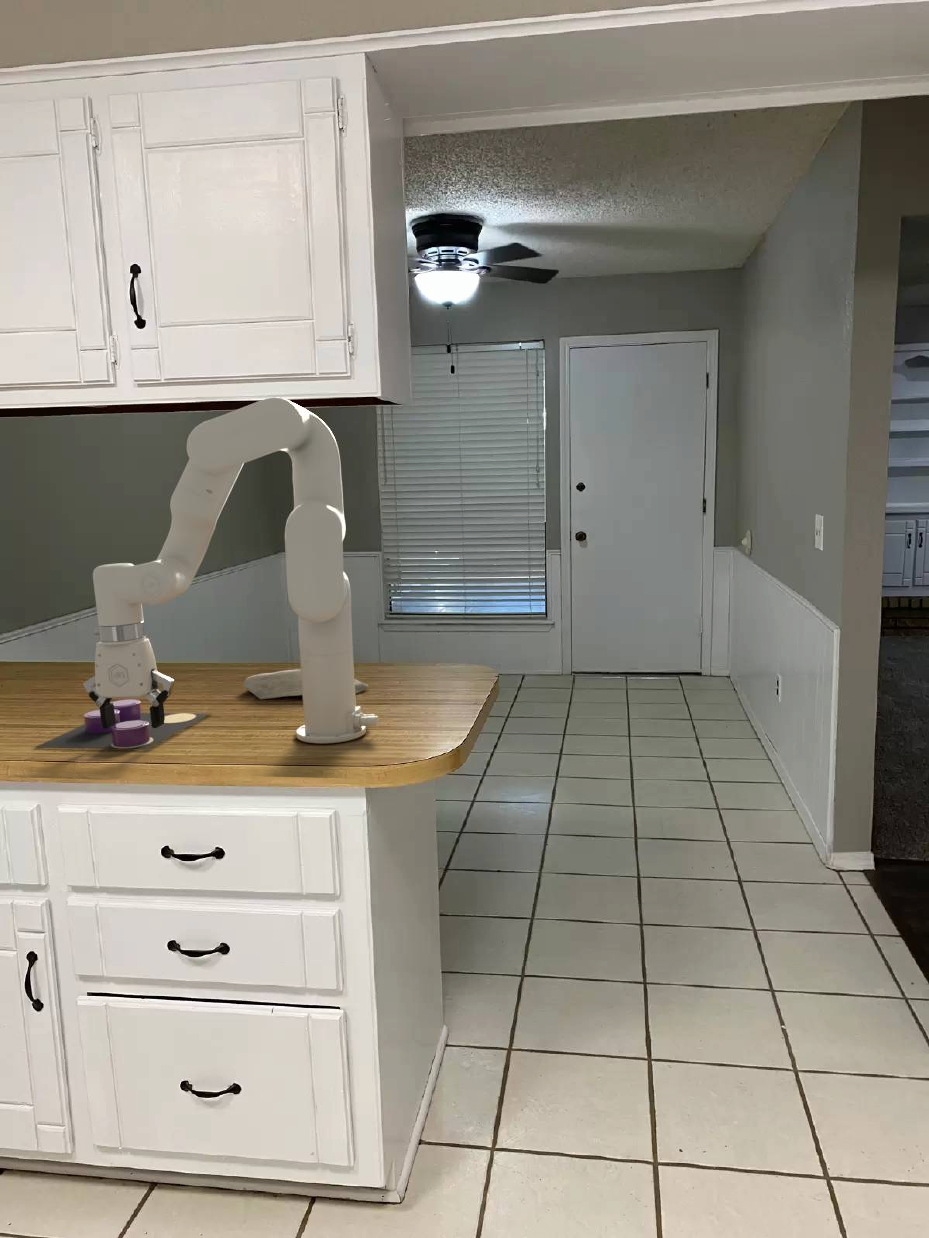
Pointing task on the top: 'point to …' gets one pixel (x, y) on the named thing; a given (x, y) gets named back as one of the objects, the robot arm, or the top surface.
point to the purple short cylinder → (130, 733)
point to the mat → (104, 740)
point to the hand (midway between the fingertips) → (133, 726)
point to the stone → (282, 684)
